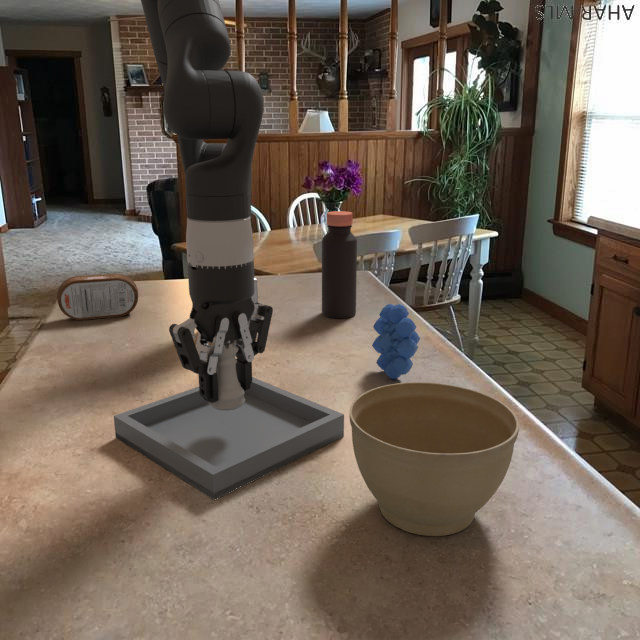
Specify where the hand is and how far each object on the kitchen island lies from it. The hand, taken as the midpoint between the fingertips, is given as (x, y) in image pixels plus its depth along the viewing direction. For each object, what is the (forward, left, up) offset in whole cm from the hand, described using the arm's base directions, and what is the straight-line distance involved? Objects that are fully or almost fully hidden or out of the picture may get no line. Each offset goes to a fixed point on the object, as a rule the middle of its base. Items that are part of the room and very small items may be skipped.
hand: (226, 394), depth 82 cm
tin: (-14, -58, -6) cm, 60 cm away
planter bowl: (-4, +27, -6) cm, 28 cm away
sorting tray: (0, 0, -6) cm, 6 cm away
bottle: (-48, -26, -6) cm, 55 cm away
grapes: (-30, +3, -6) cm, 31 cm away
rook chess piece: (0, 0, -1) cm, 1 cm away
